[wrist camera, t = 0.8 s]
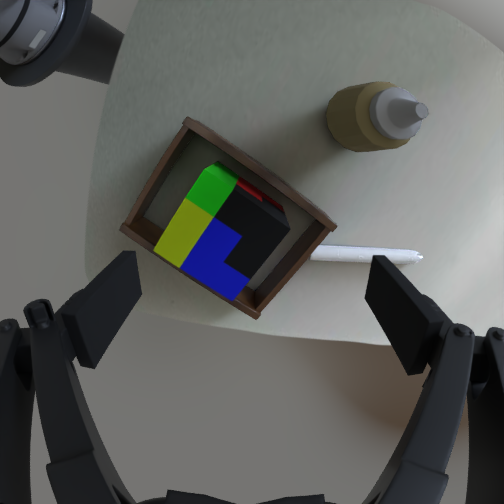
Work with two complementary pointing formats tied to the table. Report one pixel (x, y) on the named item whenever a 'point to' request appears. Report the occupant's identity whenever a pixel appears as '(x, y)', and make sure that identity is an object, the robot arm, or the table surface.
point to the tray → (322, 224)
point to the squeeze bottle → (374, 116)
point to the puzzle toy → (223, 231)
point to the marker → (363, 254)
